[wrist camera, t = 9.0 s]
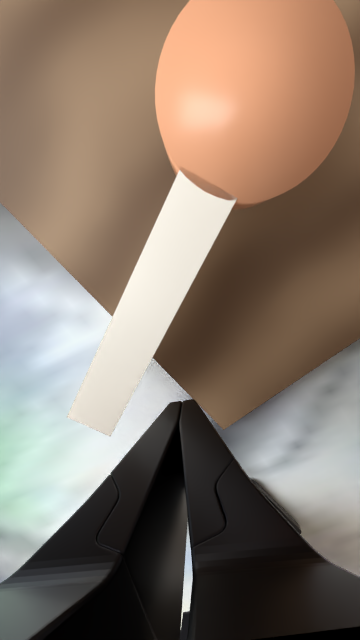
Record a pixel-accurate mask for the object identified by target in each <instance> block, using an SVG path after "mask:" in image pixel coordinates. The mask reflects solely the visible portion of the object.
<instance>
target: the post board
mask: <svg viewBox="0 0 360 640" xmlns="http://www.w3.org/2000/svg"><path fill="white" fill-rule="evenodd" d="M189 1H190V0H0V203H1V204H2V205H3V206H4V207H5V208H6V209H7V210H8V211H9V212H10V213H11V214H12V215H13V216H14V217H15V218H16V219H17V220H18V221H19V222H20V223H21V224H22V225H23V226H24V227H25V228H26V229H27V230H28V231H29V232H30V233H31V234H32V235H33V236H34V237H35V238H36V239H37V240H38V241H39V242H40V243H41V244H42V245H43V246H44V247H45V248H46V249H47V250H48V251H49V252H50V254H51V255H52V256H53V257H54V258H55V259H56V260H57V261H58V262H59V263H60V264H61V265H62V266H63V267H64V268H65V269H66V270H67V271H68V272H69V273H70V274H71V275H72V276H73V277H74V278H75V279H76V280H77V281H78V282H79V283H80V284H81V285H82V286H83V287H84V288H85V289H86V290H87V291H88V292H89V293H90V294H91V295H92V296H93V297H94V298H95V299H96V300H97V301H98V302H99V303H100V304H101V305H102V306H103V307H104V308H105V310H106V311H107V312H108V313H109V314H110V315H111V316H112V317H113V315H114V313H115V310H116V308H117V306H118V304H119V302H120V299H121V297H122V295H123V293H124V291H125V288H126V286H127V284H128V282H129V280H130V277H131V275H132V273H133V271H134V269H135V266H136V264H137V262H138V260H139V258H140V255H141V253H142V251H143V249H144V247H145V245H146V242H147V240H148V238H149V236H150V234H151V231H152V229H153V227H154V225H155V223H156V220H157V218H158V216H159V214H160V212H161V209H162V207H163V205H164V203H165V201H166V198H167V196H168V194H169V192H170V190H171V187H172V185H173V183H174V181H175V179H176V175H175V173H174V171H173V169H172V166H171V164H170V161H169V158H168V155H167V152H166V149H165V146H164V142H163V139H162V136H161V133H160V129H159V125H158V121H157V115H156V107H155V83H156V73H157V68H158V63H159V59H160V55H161V52H162V49H163V46H164V43H165V40H166V38H167V36H168V34H169V31H170V29H171V27H172V25H173V24H174V22H175V20H176V19H177V17H178V15H179V14H180V12H181V11H182V10H183V8H184V7H185V6H186V4H187V3H188V2H189ZM334 2H335V3H336V5H337V6H338V8H339V9H340V11H341V13H342V15H343V18H344V20H345V22H346V24H347V27H348V30H349V34H350V37H351V40H352V46H353V52H354V63H355V79H354V90H353V96H352V102H351V106H350V109H349V113H348V116H347V119H346V122H345V124H344V127H343V129H342V132H341V134H340V136H339V138H338V139H337V141H336V143H335V145H334V147H333V148H332V150H331V151H330V153H329V154H328V156H327V157H326V158H325V160H324V161H323V162H322V163H321V164H320V165H319V167H318V168H317V169H316V170H315V171H314V172H313V173H312V174H311V175H310V176H308V177H307V178H306V179H305V180H304V181H302V182H301V183H300V184H298V185H297V186H295V187H294V188H292V189H290V190H288V191H287V192H285V193H283V194H280V195H278V196H276V197H274V198H271V199H269V200H267V201H265V202H262V203H260V204H258V205H255V206H253V207H249V208H245V209H238V210H231V211H230V213H229V215H228V217H227V219H226V220H225V222H224V224H223V226H222V228H221V230H220V232H219V234H218V235H217V237H216V239H215V241H214V243H213V245H212V247H211V249H210V250H209V252H208V254H207V256H206V258H205V260H204V262H203V264H202V265H201V267H200V269H199V271H198V273H197V275H196V277H195V279H194V280H193V282H192V284H191V286H190V288H189V290H188V292H187V294H186V295H185V297H184V299H183V301H182V303H181V305H180V307H179V309H178V310H177V312H176V314H175V316H174V318H173V320H172V322H171V324H170V325H169V327H168V329H167V331H166V333H165V335H164V337H163V339H162V340H161V342H160V344H159V346H158V348H157V350H156V352H155V354H154V355H153V358H154V359H155V360H156V361H157V362H158V363H159V364H160V366H161V367H162V368H163V369H164V370H165V371H166V372H167V373H168V374H169V375H170V376H171V377H172V378H173V379H174V380H175V381H176V382H177V383H178V384H179V385H180V386H181V387H182V388H183V389H184V390H185V391H186V392H187V393H188V394H189V395H190V396H191V397H192V398H193V399H194V400H195V401H196V402H197V403H198V404H199V405H200V406H201V407H202V408H203V409H204V410H205V411H206V412H207V413H208V414H209V415H210V416H211V417H212V418H213V419H214V421H215V422H216V423H217V424H218V425H219V426H220V427H221V428H222V429H223V430H224V429H226V428H227V427H229V426H230V425H232V424H233V423H234V422H236V421H237V420H239V419H240V418H242V417H243V416H245V415H246V414H248V413H249V412H251V411H252V410H254V409H255V408H257V407H258V406H260V405H261V404H263V403H264V402H266V401H267V400H269V399H270V398H272V397H273V396H275V395H276V394H278V393H279V392H281V391H282V390H284V389H285V388H287V387H288V386H290V385H291V384H293V383H294V382H296V381H297V380H299V379H300V378H302V377H303V376H304V375H306V374H307V373H309V372H310V371H312V370H313V369H315V368H316V367H318V366H319V365H321V364H322V363H324V362H325V361H327V360H328V359H330V358H331V357H333V356H334V355H336V354H337V353H339V352H340V351H342V350H343V349H345V348H346V347H348V346H349V345H351V344H352V343H354V342H355V341H357V340H358V339H360V0H334Z"/></svg>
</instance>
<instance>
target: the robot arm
mask: <svg viewBox="0 0 360 640" xmlns="http://www.w3.org/2000/svg"><path fill="white" fill-rule="evenodd" d="M187 520H188V525H189V535H190V546H191V556H192V571H193V582H192V593H191V604H190V611H189V612H183V619H182V627H181V612H182V597H183V581H184V566H185V551H186V535H187ZM300 534H301V529H300V527H299V525H298V523H297V522H296V521H294V520H293V519H292V518H291V517H290V516H289V515H288V514H287V513H286V512H285V511H284V510H283V509H282V508H281V507H280V506H279V505H278V504H277V503H276V502H275V501H274V500H273V499H272V498H271V497H270V496H269V495H268V494H267V493H266V492H265V491H264V490H263V489H262V488H261V487H260V486H259V485H258V484H257V483H256V482H255V481H253V480H251V479H250V478H249V477H248V475H247V474H246V473H245V471H244V470H243V469H242V467H241V466H240V464H239V463H238V461H237V460H236V459H235V457H234V456H233V454H232V453H231V451H230V450H229V449H228V447H227V446H226V444H225V443H224V441H223V440H222V438H221V437H220V435H219V434H218V433H217V431H216V430H215V428H214V427H213V425H212V424H211V422H210V421H209V419H208V418H207V417H206V415H205V414H204V412H203V411H202V409H201V408H200V406H199V405H198V403H197V402H196V401H195V400H194V399H191V400H185V401H183V402H181V401H178V402H171V403H169V405H168V406H167V407H166V408H165V409H164V410H163V412H162V413H161V414H160V415H159V416H158V418H157V419H156V420H155V421H154V422H153V423H152V425H151V426H150V427H149V428H148V429H147V431H146V432H145V433H144V434H143V435H142V436H141V438H140V439H139V440H138V441H137V442H136V444H135V445H134V446H133V447H132V448H131V450H130V451H129V452H128V453H127V454H126V455H125V457H124V458H123V459H122V460H121V461H120V463H119V464H118V465H117V466H116V467H115V468H114V470H113V471H112V472H111V475H108V477H107V478H106V479H105V480H104V481H103V483H102V484H101V485H100V486H99V487H98V488H97V489H96V491H95V492H94V493H93V494H92V495H91V496H90V497H89V498H88V500H87V501H86V502H85V503H84V504H83V505H82V506H81V507H80V508H79V509H78V510H77V511H76V512H75V513H74V514H73V515H72V516H71V517H70V518H69V519H68V520H67V521H66V522H65V523H64V524H63V525H62V526H61V527H60V528H59V529H58V531H57V532H56V533H55V534H54V535H53V536H52V537H51V538H50V539H49V540H48V541H47V542H46V543H45V544H44V545H43V546H42V547H41V548H40V549H39V550H38V551H37V552H36V553H35V554H34V555H33V556H32V557H31V558H30V559H29V560H28V561H27V562H26V563H25V564H24V565H23V566H21V567H20V568H19V569H18V570H17V571H16V572H15V573H14V574H12V575H11V576H10V577H9V578H7V579H6V580H4V581H3V582H2V583H0V640H360V577H359V576H357V575H355V574H353V573H351V572H349V571H347V570H345V569H343V568H341V567H339V566H337V565H335V564H333V563H331V562H330V561H328V560H327V559H326V558H324V557H323V556H322V555H320V554H319V553H318V552H317V551H316V550H315V549H314V548H313V547H311V546H310V544H309V543H308V542H307V541H306V540H305V539H304V538H303V537H302V536H301V535H300ZM180 627H181V630H180Z"/></svg>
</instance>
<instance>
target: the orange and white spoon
mask: <svg viewBox="0 0 360 640" xmlns="http://www.w3.org/2000/svg"><path fill="white" fill-rule="evenodd" d="M354 79H355V63H354V52H353V46H352V40H351V37H350V34H349V30H348V27H347V24H346V22H345V20H344V18H343V15H342V13H341V11H340V9H339V8H338V6H337V5H336V3H335V2H334V0H190V1H189V2H188V3H187V4H186V6H185V7H184V8H183V10H182V11H181V12H180V14H179V15H178V17H177V19H176V20H175V22H174V24H173V25H172V27H171V29H170V31H169V34H168V36H167V38H166V40H165V43H164V46H163V49H162V52H161V55H160V59H159V63H158V68H157V73H156V83H155V107H156V115H157V121H158V125H159V129H160V133H161V136H162V139H163V142H164V146H165V149H166V152H167V155H168V158H169V161H170V164H171V166H172V169H173V171H174V173H175V175H176V179H175V181H174V183H173V185H172V187H171V190H170V192H169V194H168V196H167V198H166V201H165V203H164V205H163V207H162V209H161V212H160V214H159V216H158V218H157V220H156V223H155V225H154V227H153V229H152V231H151V234H150V236H149V238H148V240H147V242H146V245H145V247H144V249H143V251H142V253H141V255H140V258H139V260H138V262H137V264H136V266H135V269H134V271H133V273H132V275H131V277H130V280H129V282H128V284H127V286H126V288H125V291H124V293H123V295H122V297H121V299H120V302H119V304H118V306H117V308H116V310H115V313H114V315H113V317H112V319H111V321H110V323H109V326H108V328H107V330H106V332H105V334H104V337H103V339H102V341H101V343H100V345H99V348H98V350H97V352H96V354H95V356H94V359H93V361H92V363H91V365H90V367H89V370H88V372H87V374H86V376H85V378H84V381H83V383H82V385H81V387H80V389H79V391H78V394H77V396H76V398H75V400H74V402H73V405H72V407H71V409H70V411H69V413H68V416H67V417H68V418H70V419H72V420H74V421H77V422H79V423H81V424H83V425H86V426H88V427H90V428H92V429H95V430H97V431H99V432H102V433H104V434H106V435H108V436H111V434H112V432H113V430H114V429H115V427H116V425H117V423H118V421H119V419H120V417H121V415H122V414H123V412H124V410H125V408H126V406H127V404H128V402H129V400H130V399H131V397H132V395H133V393H134V391H135V389H136V387H137V385H138V384H139V382H140V380H141V378H142V376H143V374H144V372H145V370H146V369H147V367H148V365H149V363H150V361H151V359H152V357H153V355H154V354H155V352H156V350H157V348H158V346H159V344H160V342H161V340H162V339H163V337H164V335H165V333H166V331H167V329H168V327H169V325H170V324H171V322H172V320H173V318H174V316H175V314H176V312H177V310H178V309H179V307H180V305H181V303H182V301H183V299H184V297H185V295H186V294H187V292H188V290H189V288H190V286H191V284H192V282H193V280H194V279H195V277H196V275H197V273H198V271H199V269H200V267H201V265H202V264H203V262H204V260H205V258H206V256H207V254H208V252H209V250H210V249H211V247H212V245H213V243H214V241H215V239H216V237H217V235H218V234H219V232H220V230H221V228H222V226H223V224H224V222H225V220H226V219H227V217H228V215H229V213H230V211H231V210H238V209H245V208H249V207H253V206H255V205H258V204H260V203H262V202H265V201H267V200H269V199H271V198H274V197H276V196H278V195H280V194H283V193H285V192H287V191H288V190H290V189H292V188H294V187H295V186H297V185H298V184H300V183H301V182H302V181H304V180H305V179H306V178H307V177H308V176H310V175H311V174H312V173H313V172H314V171H315V170H316V169H317V168H318V167H319V165H320V164H321V163H322V162H323V161H324V160H325V158H326V157H327V156H328V154H329V153H330V151H331V150H332V148H333V147H334V145H335V143H336V141H337V139H338V138H339V136H340V134H341V132H342V129H343V127H344V124H345V122H346V119H347V116H348V113H349V109H350V106H351V102H352V96H353V90H354Z"/></svg>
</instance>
